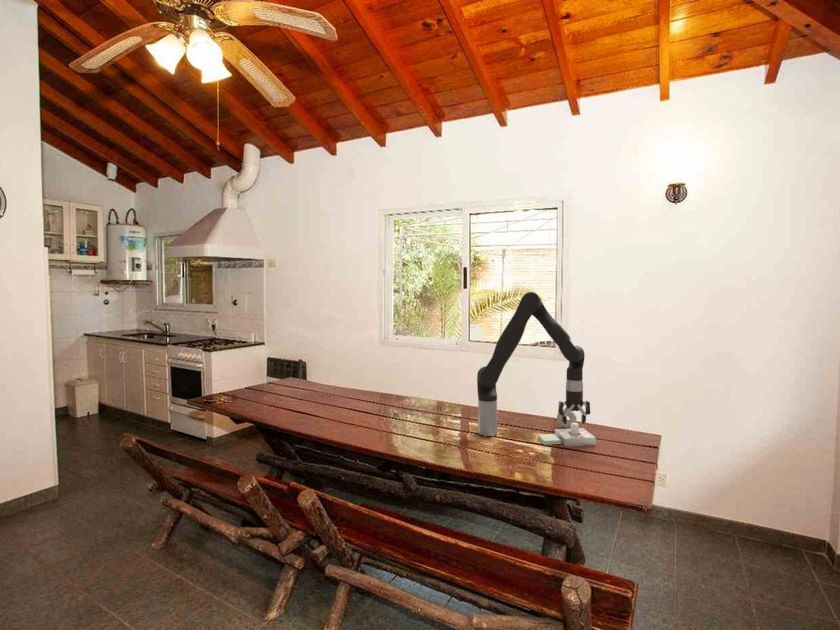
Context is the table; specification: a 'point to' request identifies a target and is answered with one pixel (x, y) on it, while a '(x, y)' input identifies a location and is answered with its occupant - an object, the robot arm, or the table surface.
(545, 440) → the square base plate
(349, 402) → the table surface
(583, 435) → the flange
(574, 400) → the robot arm
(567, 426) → the donut
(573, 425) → the peg
